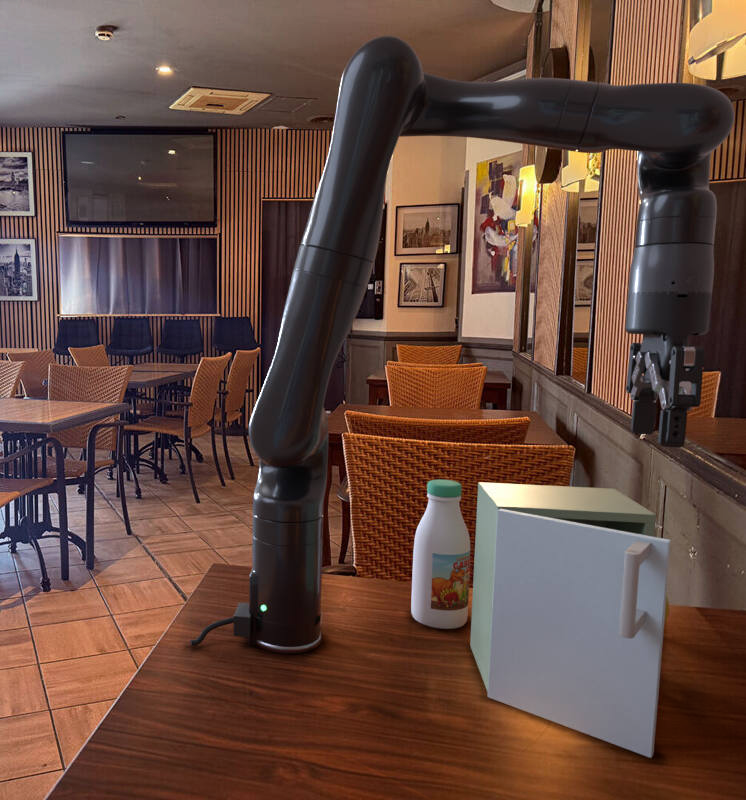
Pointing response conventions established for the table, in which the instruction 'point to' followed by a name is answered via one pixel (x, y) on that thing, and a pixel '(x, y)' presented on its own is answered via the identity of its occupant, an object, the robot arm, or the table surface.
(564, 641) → the cabinet door
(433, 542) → the milk bottle
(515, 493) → the cabinet
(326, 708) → the table surface
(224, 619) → the robot arm
